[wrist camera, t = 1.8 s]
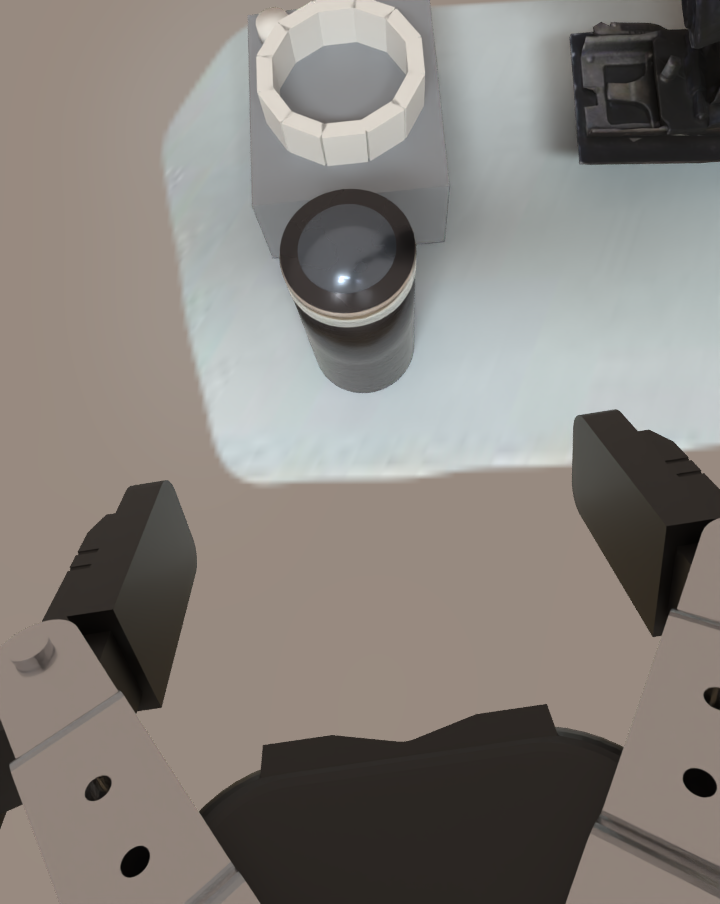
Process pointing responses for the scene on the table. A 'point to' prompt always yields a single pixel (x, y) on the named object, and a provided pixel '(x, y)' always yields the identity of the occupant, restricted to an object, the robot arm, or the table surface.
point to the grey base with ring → (346, 111)
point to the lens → (353, 285)
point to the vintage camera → (649, 90)
